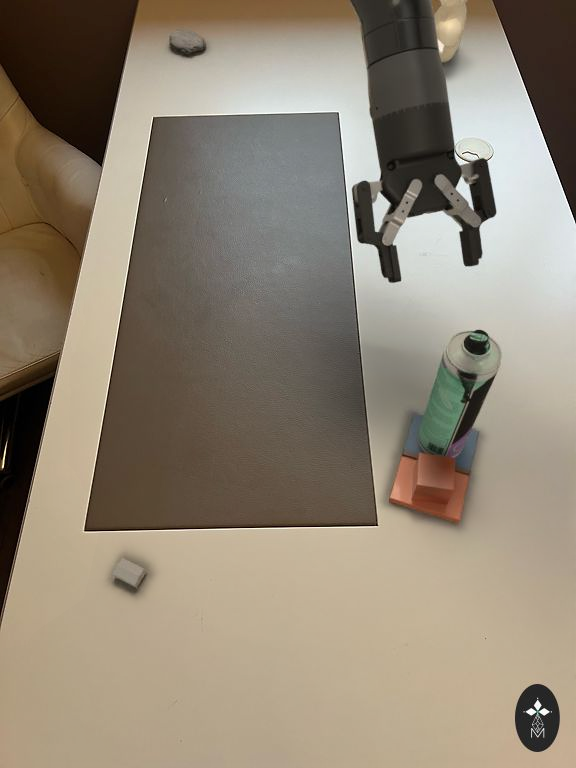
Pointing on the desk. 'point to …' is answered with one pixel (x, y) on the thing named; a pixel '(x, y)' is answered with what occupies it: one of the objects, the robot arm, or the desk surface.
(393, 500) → the sorting board
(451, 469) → the terracotta block
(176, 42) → the stone
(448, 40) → the figurine
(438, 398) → the spray can
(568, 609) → the desk surface
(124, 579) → the grey rectangular block
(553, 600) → the desk surface
